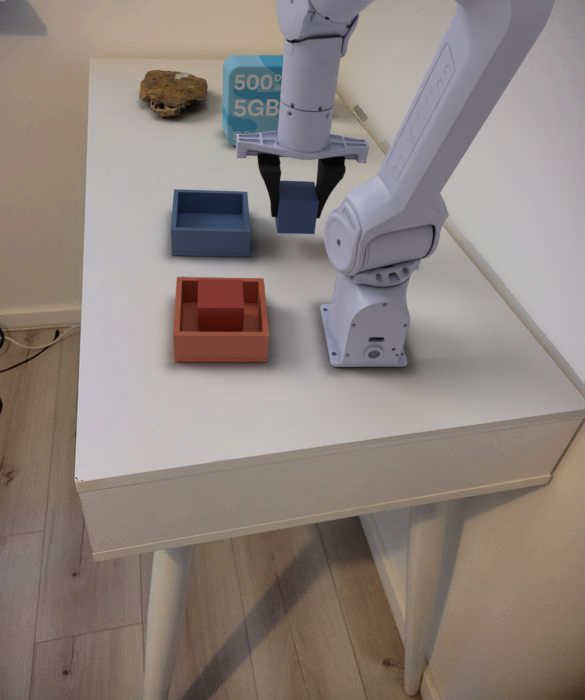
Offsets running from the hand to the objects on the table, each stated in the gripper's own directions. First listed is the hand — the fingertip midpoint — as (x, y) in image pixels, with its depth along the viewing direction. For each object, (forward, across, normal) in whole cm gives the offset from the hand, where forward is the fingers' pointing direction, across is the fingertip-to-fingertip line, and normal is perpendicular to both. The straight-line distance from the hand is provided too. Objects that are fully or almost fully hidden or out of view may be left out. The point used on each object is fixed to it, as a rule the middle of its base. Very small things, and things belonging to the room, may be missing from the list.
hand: (295, 213), depth 77 cm
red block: (+4, +9, +16) cm, 19 cm away
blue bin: (+5, +10, -2) cm, 11 cm away
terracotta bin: (+5, +9, +16) cm, 19 cm away
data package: (+5, +2, -29) cm, 30 cm away
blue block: (+1, 0, 0) cm, 1 cm away
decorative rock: (+5, +16, -41) cm, 44 cm away
